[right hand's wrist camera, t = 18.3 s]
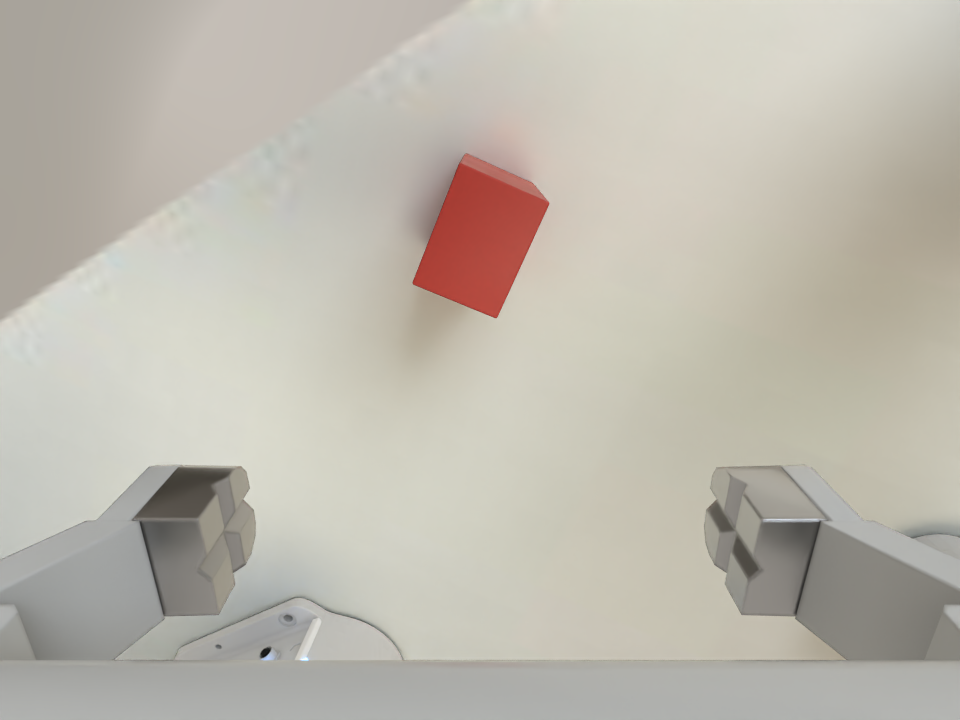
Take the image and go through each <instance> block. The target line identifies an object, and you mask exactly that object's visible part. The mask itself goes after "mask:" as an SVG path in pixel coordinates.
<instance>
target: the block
mask: <svg viewBox="0 0 960 720" xmlns="http://www.w3.org/2000/svg"><path fill="white" fill-rule="evenodd" d="M548 206H549V202H548V201H547V200H546V198H545V197H544V196H543V195H542V194H541V192H540V191H539V190H538V189H537V188H536V186H535V185H534V184H533V183H531V182H529V181H527V180H524V179H522V178H520V177H518V176H516V175H513V174H511V173H509V172H507V171H504V170H502V169H500V168H498V167H496V166H493V165H491V164H489V163H487V162H484V161H482V160H480V159H478V158H476V157H473V156H471V155H469V154H465V155H464V157H463V158H462V160H461V162H460V163H459V165H458V168H457V170H456V173H455V175H454V178H453V181H452V183H451V186H450V188H449V191H448V193H447V196H446V198H445V201H444V203H443V206H442V209H441V211H440V214H439V216H438V219H437V221H436V224H435V226H434V229H433V232H432V234H431V237H430V239H429V242H428V244H427V247H426V249H425V252H424V255H423V257H422V260H421V262H420V265H419V267H418V270H417V272H416V275H415V277H414V280H413V285H416V286H418V287H421V288H423V289H425V290H428V291H430V292H433V293H435V294H438V295H440V296H443V297H445V298H447V299H450V300H452V301H455V302H457V303H460V304H462V305H465V306H467V307H469V308H472V309H474V310H477V311H479V312H482V313H484V314H486V315H489V316H491V317H494V318H497V317H498V315H499V313H500V310H501V308H502V306H503V304H504V302H505V300H506V297H507V295H508V293H509V291H510V289H511V286H512V284H513V282H514V280H515V278H516V276H517V273H518V271H519V269H520V267H521V265H522V262H523V260H524V258H525V256H526V254H527V252H528V249H529V247H530V245H531V243H532V241H533V238H534V236H535V234H536V232H537V230H538V228H539V225H540V223H541V221H542V219H543V217H544V214H545V212H546V210H547V208H548Z"/></svg>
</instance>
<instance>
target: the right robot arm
mask: <svg viewBox="0 0 960 720" xmlns="http://www.w3.org/2000/svg"><path fill="white" fill-rule="evenodd" d="M249 489H250V486H249V481H248V477H247V472H246V471H245V470H244V469H243V468H242V467H241V466H201V465H185V466H183V465H155V466H151V467H148V468H147V469H146V470H145V471H144V472H143V473H142V474H141V475H140V476H139V477H138V479H137V480H136V481H135V482H134V483H133V484H132V485H131V486H130V487H129V488H128V489H127V490H126V491H125V492H124V493H123V494H122V495H121V496H120V497H119V498H118V499H117V500H116V501H115V502H114V503H113V504H112V505H111V506H110V507H109V508H108V509H107V510H106V511H105V512H104V513H103V514H102V515H101V516H100V517H99V518H98V519H97V520H96V521H85V522H83V523H80V524H78V525H76V526H74V527H72V528H69V529H67V530H65V531H63V532H61V533H58V534H56V535H54V536H52V537H49V538H47V539H45V540H43V541H41V542H38V543H36V544H34V545H32V546H30V547H27V548H25V549H23V550H21V551H19V552H16V553H14V554H12V555H10V556H8V557H5V558H3V559H1V560H0V720H960V560H959V559H957V558H954V557H952V556H950V555H948V554H946V553H943V552H941V551H939V550H937V549H935V548H932V547H930V546H928V545H926V544H924V543H921V542H919V541H917V540H915V539H913V538H910V537H908V536H906V535H904V534H902V533H899V532H897V531H895V530H893V529H891V528H888V527H886V526H884V525H882V524H880V523H877V522H875V521H864V520H863V519H862V518H861V517H860V516H859V515H858V514H857V513H856V512H855V511H854V510H853V509H852V508H851V507H850V506H849V505H848V504H847V503H846V502H845V501H844V500H843V499H842V498H841V497H840V496H839V495H838V494H837V493H836V492H835V491H834V490H833V489H832V488H831V487H830V485H829V484H828V483H827V482H826V481H825V480H824V479H823V478H822V477H821V476H820V475H819V474H818V473H817V472H816V471H815V470H814V469H813V468H812V467H809V466H807V465H779V466H746V467H716V469H715V471H714V473H713V475H712V481H711V486H710V489H711V490H712V492H713V494H714V495H715V497H716V498H717V500H716V501H715V502H714V503H713V504H712V505H711V506H710V507H709V508H708V509H707V510H706V516H705V524H704V530H705V542H706V546H707V549H708V552H709V555H710V557H711V559H712V561H713V563H714V565H716V566H717V567H719V568H720V569H722V570H723V571H725V572H726V573H727V575H726V581H725V585H726V587H727V589H728V591H729V593H730V595H731V596H732V598H733V600H734V602H735V604H736V606H737V607H738V609H739V611H740V613H741V615H765V616H796V618H795V619H796V620H798V621H799V622H800V623H801V624H803V625H804V626H805V627H806V628H808V629H809V630H810V631H811V632H813V633H814V634H815V635H816V636H818V637H819V638H820V639H821V640H823V641H824V642H825V643H826V644H828V645H829V646H830V647H832V648H833V649H834V650H835V651H837V652H838V653H839V654H840V655H842V656H843V657H844V658H845V659H847V660H403V659H402V657H401V655H400V653H399V651H398V649H397V648H396V646H395V645H394V644H393V643H392V642H391V640H390V639H389V638H388V637H386V636H385V635H384V634H383V633H381V632H380V631H379V630H377V629H376V628H374V627H372V626H371V625H369V624H366V623H364V622H362V621H360V620H357V619H354V618H350V617H346V616H342V615H338V614H334V613H331V612H328V611H326V610H325V609H323V608H322V607H320V606H318V605H317V604H315V603H313V602H311V601H309V600H307V599H304V598H294V599H291V600H289V601H287V602H284V603H282V604H280V605H277V606H275V607H273V608H270V609H268V610H266V611H263V612H261V613H259V614H256V615H254V616H252V617H249V618H247V619H245V620H242V621H240V622H238V623H235V624H233V625H231V626H228V627H226V628H224V629H221V630H219V631H217V632H214V633H212V634H210V635H207V636H205V637H203V638H200V639H198V640H196V641H193V642H191V643H189V644H187V645H184V646H182V647H181V648H179V649H178V652H177V654H176V656H175V659H174V660H114V659H115V658H116V657H117V656H119V655H120V654H121V653H122V652H124V651H125V650H126V649H127V648H129V647H130V646H131V645H132V644H134V643H135V642H136V641H138V640H139V639H140V638H141V637H143V636H144V635H145V634H146V633H148V632H149V631H150V630H151V629H153V628H154V627H155V626H156V625H158V624H159V623H160V622H161V621H163V620H164V616H194V615H219V613H220V611H221V609H222V607H223V606H224V604H225V602H226V600H227V598H228V596H229V595H230V593H231V591H232V589H233V587H234V585H235V581H234V575H233V573H234V572H235V571H237V570H238V569H240V568H241V567H243V566H244V565H246V563H247V561H248V559H249V557H250V555H251V553H252V549H253V544H254V540H255V530H256V522H255V515H254V510H253V509H252V508H251V507H250V506H249V505H248V504H247V503H246V502H245V501H244V500H243V498H244V497H245V495H246V494H247V492H248V490H249ZM289 615H290V616H289Z"/></svg>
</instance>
